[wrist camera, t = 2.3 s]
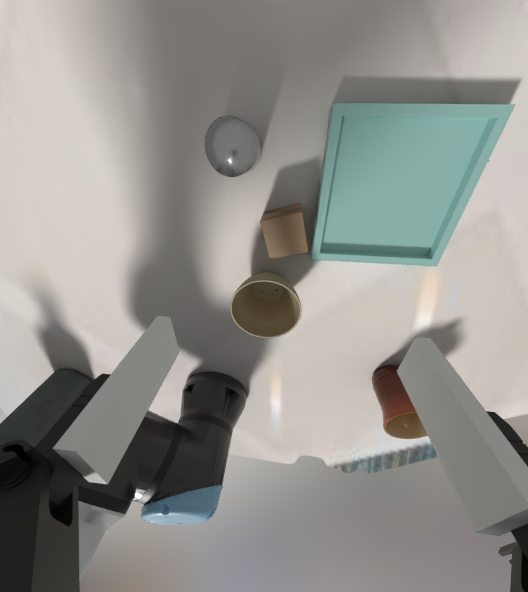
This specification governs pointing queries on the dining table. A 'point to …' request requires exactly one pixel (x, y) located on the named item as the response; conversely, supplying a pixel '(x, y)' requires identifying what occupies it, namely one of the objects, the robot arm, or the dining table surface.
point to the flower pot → (266, 306)
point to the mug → (396, 405)
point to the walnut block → (284, 231)
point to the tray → (400, 178)
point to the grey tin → (232, 146)
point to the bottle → (43, 407)
